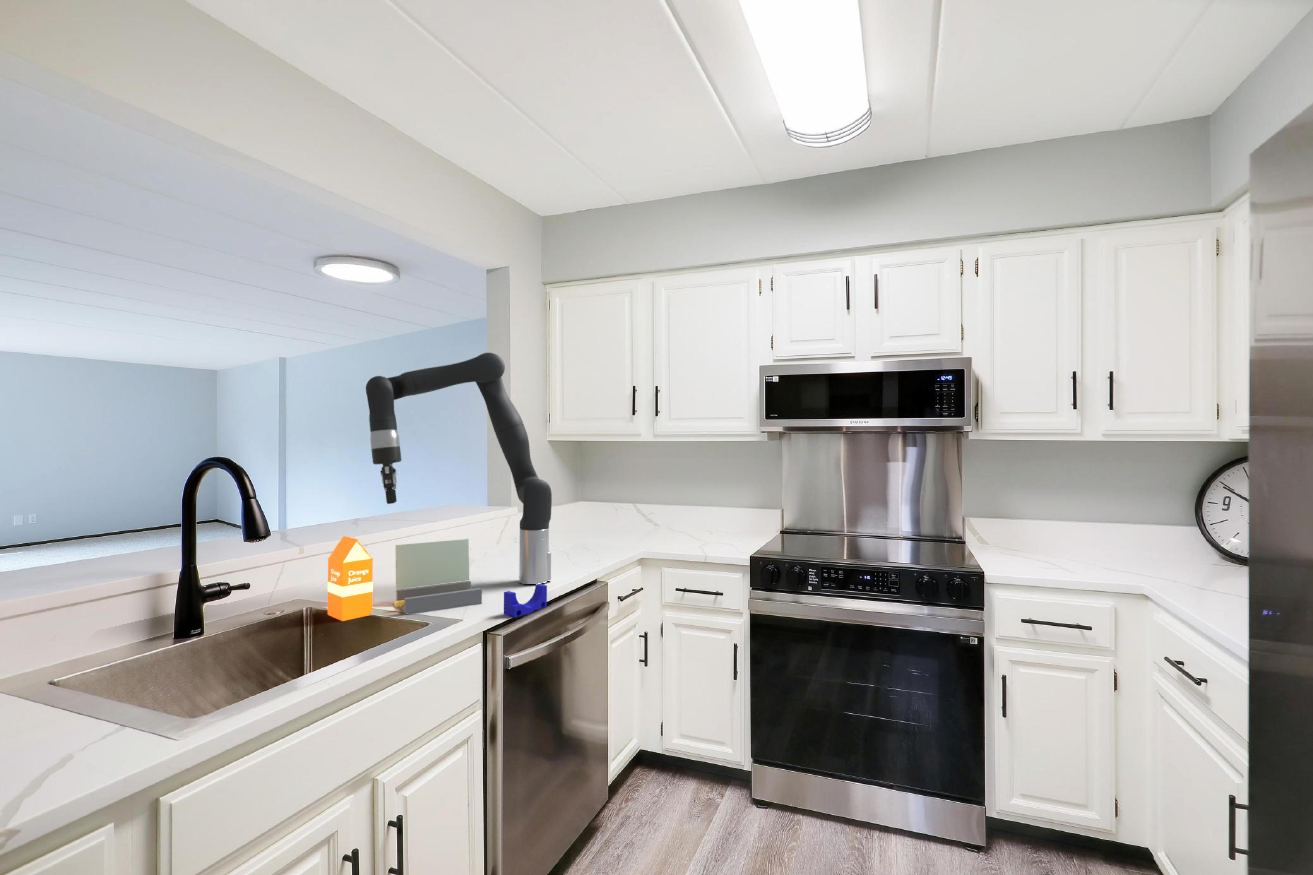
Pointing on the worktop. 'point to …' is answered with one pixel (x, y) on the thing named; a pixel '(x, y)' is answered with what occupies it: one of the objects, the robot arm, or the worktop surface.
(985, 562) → the worktop surface
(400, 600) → the cable duct
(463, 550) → the pale green flat panel
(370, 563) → the orange juice
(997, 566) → the worktop surface
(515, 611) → the blue u-shaped block
